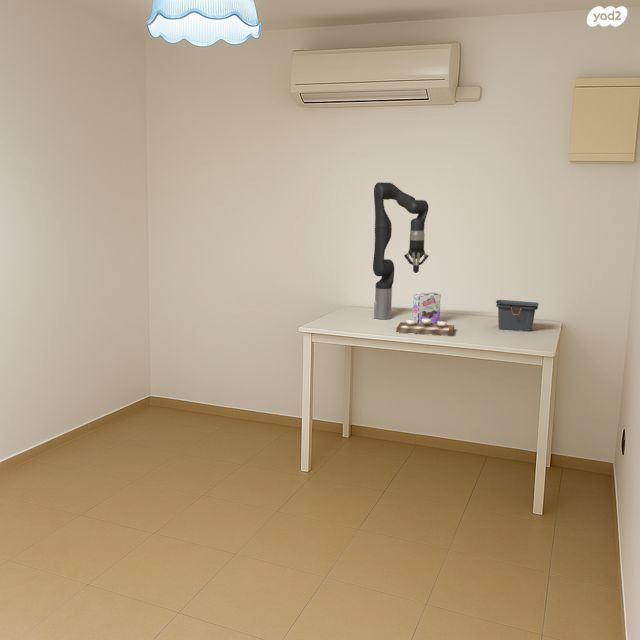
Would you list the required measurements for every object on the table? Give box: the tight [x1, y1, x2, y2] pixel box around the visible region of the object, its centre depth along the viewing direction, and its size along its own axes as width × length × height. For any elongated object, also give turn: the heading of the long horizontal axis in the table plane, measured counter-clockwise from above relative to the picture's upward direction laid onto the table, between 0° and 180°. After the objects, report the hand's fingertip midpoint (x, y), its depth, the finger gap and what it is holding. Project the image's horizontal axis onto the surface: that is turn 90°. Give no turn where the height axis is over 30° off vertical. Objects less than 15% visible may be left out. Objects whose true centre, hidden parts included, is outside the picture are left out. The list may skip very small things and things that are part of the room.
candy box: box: [412, 292, 441, 324], centre depth 366 cm, size 14×6×16 cm, turn 112°
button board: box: [395, 322, 455, 337], centre depth 344 cm, size 28×16×3 cm, turn 76°
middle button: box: [422, 318, 431, 324], centre depth 347 cm, size 5×5×2 cm
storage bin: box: [495, 299, 540, 332], centre depth 351 cm, size 21×16×14 cm
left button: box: [405, 318, 416, 325], centre depth 349 cm, size 5×5×2 cm
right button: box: [436, 320, 448, 327], centre depth 345 cm, size 5×5×2 cm
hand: (415, 272), depth 350 cm, fingers closed
